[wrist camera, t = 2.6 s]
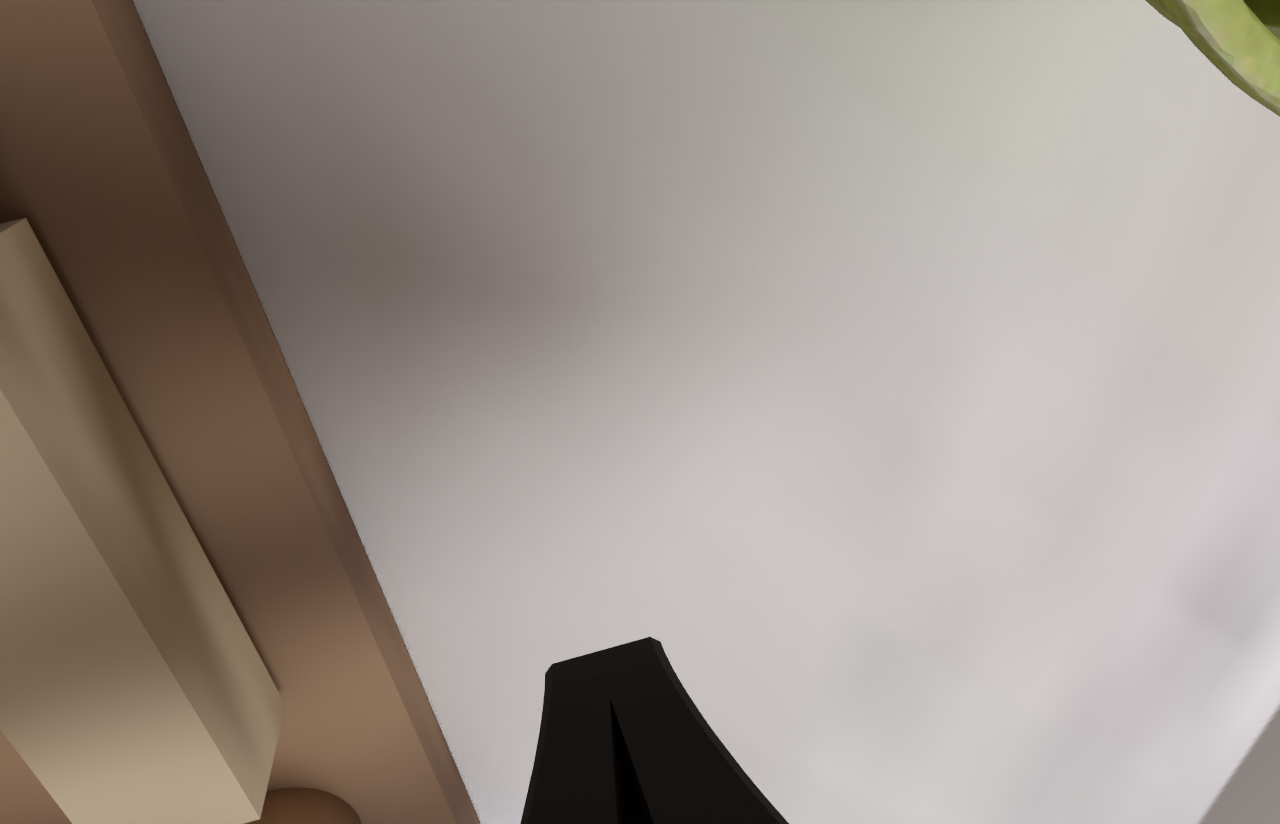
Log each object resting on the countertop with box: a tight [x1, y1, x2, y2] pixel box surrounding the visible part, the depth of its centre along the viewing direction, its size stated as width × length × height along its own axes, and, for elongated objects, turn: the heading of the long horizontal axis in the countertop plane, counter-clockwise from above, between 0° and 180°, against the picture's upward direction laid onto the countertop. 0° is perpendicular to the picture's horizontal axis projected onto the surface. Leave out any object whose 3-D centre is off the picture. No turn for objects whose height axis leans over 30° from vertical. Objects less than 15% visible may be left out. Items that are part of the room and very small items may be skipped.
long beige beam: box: [0, 218, 285, 824], centre depth 12 cm, size 12×3×2 cm, turn 11°
